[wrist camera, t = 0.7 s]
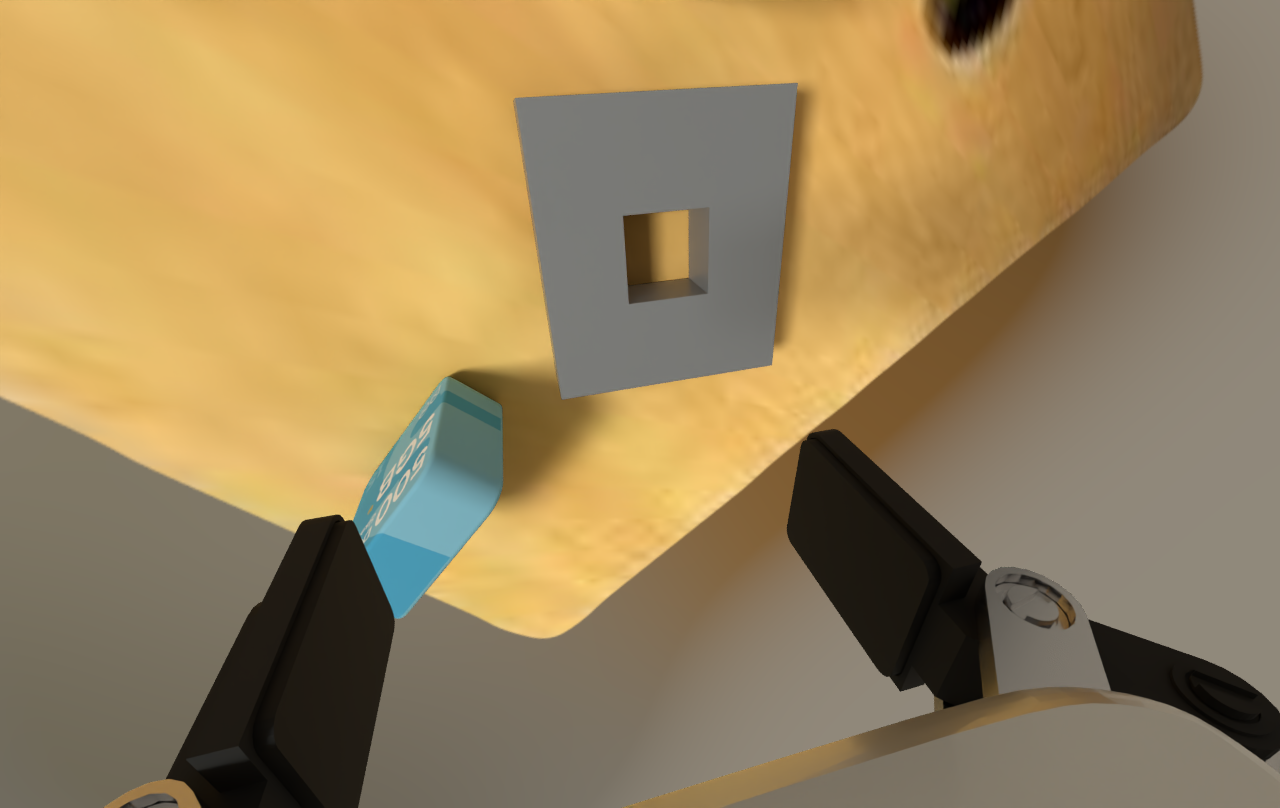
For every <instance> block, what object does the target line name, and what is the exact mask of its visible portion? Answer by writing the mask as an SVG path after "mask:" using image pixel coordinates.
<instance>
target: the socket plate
mask: <svg viewBox="0 0 1280 808" xmlns="http://www.w3.org/2000/svg"><path fill="white" fill-rule="evenodd" d="M797 85H798V83H789V84H770V85H751V86H732V87H713V88H694V89H676V90H657V91H638V92H619V93H600V94H582V95H563V96H544V97H525V98H515V99H514V101H513V102H514V108H515V115H516V121H517V128H518V134H519V140H520V147H521V153H522V159H523V166H524V172H525V179H526V185H527V191H528V198H529V204H530V211H531V217H532V223H533V230H534V236H535V242H536V249H537V255H538V262H539V268H540V274H541V281H542V287H543V293H544V300H545V306H546V313H547V319H548V325H549V332H550V338H551V345H552V351H553V357H554V364H555V370H556V376H557V381H558V385H559V390H560V394H561V399H562V400H563V399H569V398H575V397H582V396H588V395H594V394H600V393H606V392H612V391H618V390H624V389H630V388H636V387H642V386H648V385H654V384H660V383H666V382H672V381H678V380H685V379H691V378H697V377H703V376H709V375H715V374H721V373H727V372H733V371H739V370H745V369H751V368H757V367H763V366H769V365H772V358H773V347H774V336H775V325H776V314H777V304H778V293H779V282H780V271H781V260H782V249H783V238H784V227H785V216H786V205H787V194H788V183H789V173H790V162H791V151H792V140H793V129H794V118H795V107H796V96H797ZM687 209H689V278H685V279H677V280H669V281H661V282H653V283H645V284H637V285H629V286H628V284H627V269H626V254H625V239H624V224H623V216H626V215H636V214H647V213H657V212H667V211H677V210H687Z"/></svg>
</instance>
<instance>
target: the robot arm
mask: <svg viewBox="0 0 1280 808" xmlns="http://www.w3.org/2000/svg"><path fill="white" fill-rule="evenodd" d="M787 534H788V538H789V540H790V542H791V544H792V545H793V547H794V548H795V550H796V551H797V553H798V554H799V556H800V557H801V558H802V560H803V561H804V563H805V564H806V565H807V567H808V569H809V570H810V572H811V573H812V575H813V576H814V577H815V579H816V580H817V582H818V583H819V585H820V586H821V588H822V589H823V590H824V592H825V593H826V595H827V596H828V598H829V599H830V601H831V602H832V603H833V605H834V607H835V608H836V609H837V611H838V612H839V614H840V615H841V617H842V618H843V620H844V621H845V623H846V624H847V625H848V627H849V628H850V630H851V631H852V633H853V634H854V636H855V637H856V639H857V640H858V642H859V643H860V644H861V646H862V647H863V649H864V650H865V652H866V653H867V655H868V656H869V658H870V659H871V660H872V662H873V663H874V665H875V666H876V668H877V669H878V670H879V671H880V673H882V674H883V675H884V676H886V677H888V676H890V678H891V679H892V681H893V682H894V683H895V685H896V686H897V688H898V689H899V691H904V690H907V689H911V688H914V687H917V686H920V685H924V683H925V684H926V685H927V686H928V688H929V689H930V690H931V692H932V693H933V694H934V712H932V713H929V714H925V715H922V716H918V717H915V718H911V719H908V720H905V721H901V722H898V723H895V724H891V725H888V726H885V727H881V728H879V729H875V730H872V731H868V732H865V733H862V734H859V735H856V736H852V737H849V738H845V739H842V740H839V741H836V742H833V743H829V744H826V745H823V746H819V747H816V748H813V749H810V750H806V751H803V752H800V753H797V754H793V755H790V756H787V757H783V758H780V759H777V760H774V761H771V762H768V763H764V764H761V765H758V766H755V767H751V768H748V769H745V770H742V771H738V772H735V773H732V774H729V775H725V776H722V777H719V778H716V779H712V780H709V781H706V782H703V783H700V784H696V785H693V786H690V787H687V788H684V789H680V790H677V791H674V792H671V793H668V794H664V795H661V796H658V797H655V798H652V799H648V800H645V801H642V802H639V803H636V804H632V805H629V806H626V807H623V808H1280V713H1279V711H1278V710H1277V708H1276V707H1275V706H1273V704H1272V703H1271V702H1270V701H1269V700H1268V699H1267V698H1266V697H1265V696H1264V695H1263V694H1262V693H1260V692H1259V691H1258V690H1256V689H1255V688H1254V687H1252V686H1251V685H1250V684H1248V683H1247V682H1246V681H1244V680H1243V679H1241V678H1240V677H1238V676H1236V675H1234V674H1233V673H1231V672H1229V671H1228V670H1226V669H1224V668H1222V667H1219V666H1217V665H1215V664H1213V663H1210V662H1208V661H1206V660H1203V659H1200V658H1197V657H1195V656H1192V655H1189V654H1186V653H1183V652H1180V651H1177V650H1174V649H1171V648H1169V647H1166V646H1163V645H1160V644H1157V643H1154V642H1152V641H1149V640H1146V639H1143V638H1140V637H1137V636H1134V635H1132V634H1128V633H1126V632H1123V631H1120V630H1117V629H1114V628H1111V627H1109V626H1106V625H1103V624H1100V623H1097V622H1094V621H1091V620H1088V618H1087V615H1086V613H1085V611H1084V609H1083V608H1082V606H1081V604H1080V603H1079V602H1078V601H1077V600H1076V599H1075V598H1074V597H1073V596H1072V594H1071V593H1069V592H1068V591H1067V590H1066V589H1064V588H1063V587H1062V586H1060V585H1059V584H1058V583H1056V582H1054V581H1052V580H1050V579H1048V578H1047V577H1045V576H1043V575H1040V574H1038V573H1035V572H1032V571H1030V570H1026V569H1021V568H1016V567H1000V568H998V569H995V570H992V571H991V572H990V573H989V574H987V573H986V572H985V571H983V570H982V569H981V568H980V565H981V561H980V560H979V559H978V558H977V557H976V556H975V555H974V554H973V553H972V552H971V551H969V550H968V549H967V548H966V547H965V546H964V545H963V544H962V543H961V542H960V541H959V540H958V539H956V538H955V537H954V536H953V535H952V534H951V533H950V532H949V531H948V530H947V529H945V527H943V526H942V525H941V524H940V523H939V522H938V521H937V520H936V519H935V518H934V517H933V516H932V515H930V514H929V513H928V512H927V511H926V510H925V509H924V508H923V507H922V506H920V505H919V504H918V503H917V502H916V501H915V500H914V499H913V498H912V497H911V496H910V495H909V494H908V493H906V492H905V491H904V490H903V489H902V488H901V487H900V486H899V485H898V484H897V483H896V482H894V481H893V480H892V479H891V478H890V477H889V476H888V475H887V474H886V473H885V472H883V470H881V469H880V468H879V467H878V466H877V465H876V464H875V463H874V462H873V461H872V460H870V458H868V457H867V456H866V455H865V454H864V453H863V452H862V451H861V450H860V449H859V448H858V447H856V446H855V445H854V444H853V443H852V442H851V441H850V440H849V439H848V438H847V437H846V436H845V435H843V434H842V433H841V432H840V431H838V430H836V429H831V430H825V431H819V432H814V433H811V434H809V436H808V437H807V440H805V441H803V442H802V445H801V449H800V454H799V460H798V467H797V472H796V477H795V483H794V489H793V495H792V501H791V506H790V513H789V518H788V524H787ZM394 622H395V621H394V613H393V610H392V608H391V605H390V603H389V601H388V598H387V596H386V594H385V591H384V589H383V587H382V585H381V582H380V580H379V578H378V575H377V573H376V571H375V568H374V566H373V564H372V562H371V559H370V557H369V555H368V552H367V550H366V548H365V545H364V543H363V541H362V539H361V536H360V534H359V532H358V529H357V527H356V525H355V523H354V522H353V521H352V520H348V521H344V519H343V517H341V516H340V515H332V516H326V517H320V518H314V519H309V520H305V521H303V522H302V523H301V524H300V526H299V527H298V529H297V531H296V533H295V536H294V538H293V540H292V542H291V544H290V546H289V548H288V550H287V552H286V554H285V556H284V559H283V560H282V562H281V564H280V566H279V568H278V571H277V572H276V575H275V577H274V579H273V581H272V583H271V585H270V587H269V589H268V591H267V593H266V595H265V597H264V599H263V601H262V602H260V603H258V604H257V605H256V606H255V607H253V609H252V610H251V612H250V614H249V615H248V617H247V618H246V620H245V622H244V624H243V626H242V628H241V630H240V633H239V634H238V637H237V638H236V640H235V643H234V644H233V646H232V648H231V650H230V652H229V655H228V656H227V658H226V660H225V662H224V664H223V666H222V668H221V670H220V672H219V674H218V676H217V678H216V680H215V682H214V684H213V686H212V688H211V690H210V692H209V694H208V696H207V698H206V700H205V702H204V704H203V706H202V708H201V710H200V712H199V714H198V716H197V718H196V720H195V722H194V724H193V726H192V728H191V730H190V732H189V734H188V736H187V738H186V740H185V742H184V744H183V746H182V748H181V750H180V752H179V754H178V756H177V758H176V760H175V762H174V764H173V766H172V768H171V770H170V772H169V774H168V776H167V778H166V780H161V781H155V782H149V783H147V784H145V785H142V786H140V787H138V788H136V789H133V790H131V791H128V792H127V793H125V794H123V795H122V796H120V797H119V798H117V799H116V800H114V801H113V802H111V803H109V804H108V805H106V806H105V807H103V808H358V805H359V800H360V795H361V790H362V785H363V781H364V775H365V771H366V766H367V761H368V756H369V751H370V746H371V741H372V736H373V731H374V726H375V721H376V717H377V711H378V707H379V702H380V697H381V692H382V687H383V682H384V677H385V672H386V667H387V662H388V657H389V652H390V648H391V643H392V637H393V633H394V624H395V623H394Z"/></svg>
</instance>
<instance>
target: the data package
mask: <svg viewBox="0 0 1280 808" xmlns="http://www.w3.org/2000/svg"><path fill="white" fill-rule="evenodd" d="M502 487H503V417H502V406H501V405H500V404H499V403H497V402H495V401H493V400H492V399H490V398H488V397H486V396H484V395H483V394H481V393H479V392H477V391H475V390H473V389H472V388H470V387H468V386H466V385H464V384H463V383H461V382H459V381H457V380H455V379H453V378H452V377H445V378H444V379H443V380H442V381H441V382H440V383H439V384H438V386H437V387H436V388H435V390H434V391H433V393H432V394H431V395H430V397H429V398H428V400H427V401H426V402H425V404H424V405H423V406H422V408H421V409H420V411H419V412H418V413H417V415H416V416H415V417H414V419H413V420H412V422H411V423H410V424H409V426H408V427H407V428H406V430H405V431H404V433H403V434H402V435H401V437H400V438H399V440H398V441H397V442H396V444H395V445H394V446H393V448H392V449H391V451H390V452H389V453H388V455H387V456H386V457H385V459H384V460H383V462H382V463H381V464H380V466H379V467H378V469H377V470H376V471H375V473H374V474H373V476H372V478H371V479H370V481H369V483H368V485H367V486H366V489H365V491H364V493H363V496H362V498H361V501H360V504H359V506H358V509H357V512H356V515H355V517H354V520H353V522H354V523H355V525H356V527H357V529H358V532H359V534H360V536H361V539H362V541H363V543H364V545H365V548H366V550H367V552H368V555H369V557H370V559H371V562H372V564H373V566H374V568H375V571H376V573H377V575H378V578H379V580H380V582H381V585H382V587H383V589H384V591H385V594H386V596H387V598H388V601H389V603H390V605H391V608H392V610H393V613H394V618H398V619H399V618H402V617H404V616H405V615H407V614H408V612H409V611H410V610H411V609H412V608H413V607H414V605H415V604H416V603H417V602H418V600H419V599H420V598H421V597H422V596H423V594H424V593H425V592H426V591H427V590H428V588H429V587H430V586H431V585H432V584H433V582H434V581H435V580H436V579H437V578H438V576H439V575H440V574H441V573H442V572H443V570H444V569H445V568H446V567H447V565H448V564H449V563H450V562H451V561H452V559H453V558H454V557H455V556H456V555H457V553H458V552H459V551H460V550H461V549H462V547H463V546H464V545H465V544H466V543H467V541H468V540H469V539H470V538H471V537H472V535H473V534H474V533H475V532H476V530H477V529H478V528H479V527H480V526H481V524H482V523H483V522H484V521H485V520H486V518H487V517H488V516H489V515H490V513H491V512H492V510H493V509H494V507H495V505H496V503H497V501H498V499H499V497H500V494H501V491H502Z"/></svg>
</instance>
